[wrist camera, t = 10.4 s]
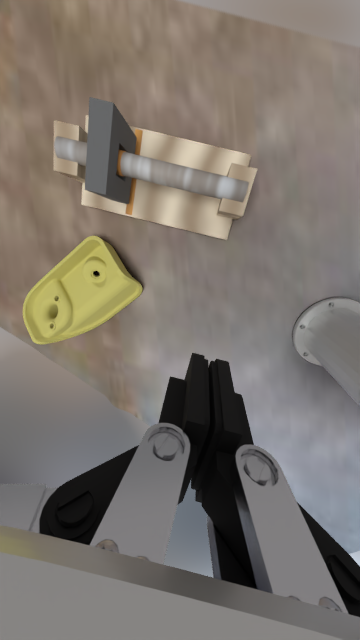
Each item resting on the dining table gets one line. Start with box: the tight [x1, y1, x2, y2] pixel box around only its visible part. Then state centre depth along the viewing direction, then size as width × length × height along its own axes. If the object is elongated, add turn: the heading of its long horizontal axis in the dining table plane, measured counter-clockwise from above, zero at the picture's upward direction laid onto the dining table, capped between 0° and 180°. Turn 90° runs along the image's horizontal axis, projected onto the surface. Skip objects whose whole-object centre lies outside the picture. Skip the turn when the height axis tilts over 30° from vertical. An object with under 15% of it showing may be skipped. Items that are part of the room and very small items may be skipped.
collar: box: [85, 97, 137, 204], centre depth 26 cm, size 2×8×8 cm, turn 167°
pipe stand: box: [54, 116, 257, 240], centre depth 29 cm, size 24×11×8 cm, turn 77°
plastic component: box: [23, 236, 143, 344], centre depth 39 cm, size 20×7×10 cm
